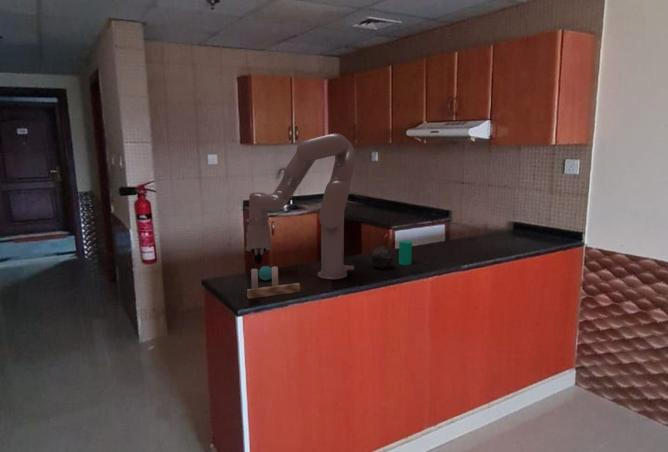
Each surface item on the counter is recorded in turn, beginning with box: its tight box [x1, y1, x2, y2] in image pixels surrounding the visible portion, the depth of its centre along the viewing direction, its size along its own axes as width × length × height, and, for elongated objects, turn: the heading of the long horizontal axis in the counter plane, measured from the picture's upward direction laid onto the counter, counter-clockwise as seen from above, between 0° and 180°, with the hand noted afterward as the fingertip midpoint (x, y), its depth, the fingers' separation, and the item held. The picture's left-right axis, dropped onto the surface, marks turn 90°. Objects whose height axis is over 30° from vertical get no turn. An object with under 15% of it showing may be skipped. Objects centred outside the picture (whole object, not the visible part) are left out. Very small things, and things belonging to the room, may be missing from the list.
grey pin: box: [250, 268, 259, 289], centre depth 177 cm, size 2×2×9 cm
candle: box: [398, 238, 413, 266], centre depth 220 cm, size 6×6×12 cm
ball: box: [258, 265, 272, 281], centre depth 193 cm, size 6×6×6 cm
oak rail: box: [246, 282, 301, 299], centre depth 175 cm, size 20×2×3 cm, turn 113°
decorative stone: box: [371, 245, 394, 269], centre depth 212 cm, size 10×10×10 cm
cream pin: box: [271, 266, 279, 286], centre depth 180 cm, size 2×2×9 cm
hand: (258, 263), depth 201 cm, fingers closed
